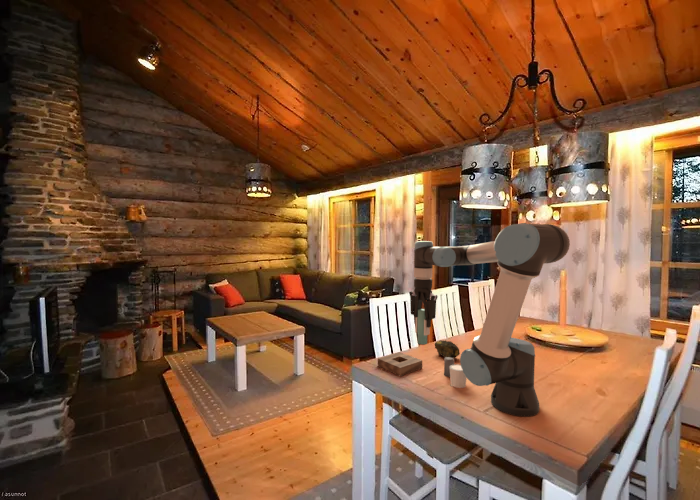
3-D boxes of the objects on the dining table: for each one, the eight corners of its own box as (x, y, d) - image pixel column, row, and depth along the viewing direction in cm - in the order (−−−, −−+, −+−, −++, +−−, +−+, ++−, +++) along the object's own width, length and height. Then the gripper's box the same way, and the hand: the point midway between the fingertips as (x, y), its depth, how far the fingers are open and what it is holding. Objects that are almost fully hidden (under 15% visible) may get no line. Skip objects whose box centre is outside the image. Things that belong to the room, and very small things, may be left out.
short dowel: (455, 375, 146) (456, 359, 146) (450, 377, 144) (450, 361, 143) (448, 372, 149) (448, 356, 149) (442, 374, 147) (442, 358, 146)
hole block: (422, 368, 154) (422, 360, 154) (400, 376, 145) (400, 367, 145) (399, 359, 165) (399, 352, 165) (377, 366, 156) (377, 358, 156)
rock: (463, 340, 167) (454, 340, 162) (464, 360, 165) (455, 361, 160) (442, 340, 176) (432, 340, 171) (442, 358, 174) (433, 359, 169)
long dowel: (429, 343, 145) (429, 310, 145) (422, 345, 143) (423, 311, 142) (421, 340, 149) (422, 308, 148) (415, 342, 146) (415, 309, 146)
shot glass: (459, 390, 132) (459, 372, 132) (445, 383, 138) (445, 366, 138) (471, 385, 136) (471, 368, 136) (457, 379, 142) (457, 362, 141)
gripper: (445, 279, 140) (444, 336, 141) (413, 275, 153) (413, 327, 155) (433, 281, 135) (432, 340, 137) (402, 276, 149) (401, 330, 150)
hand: (422, 333), depth 146 cm, fingers closed on long dowel, 4 cm apart
